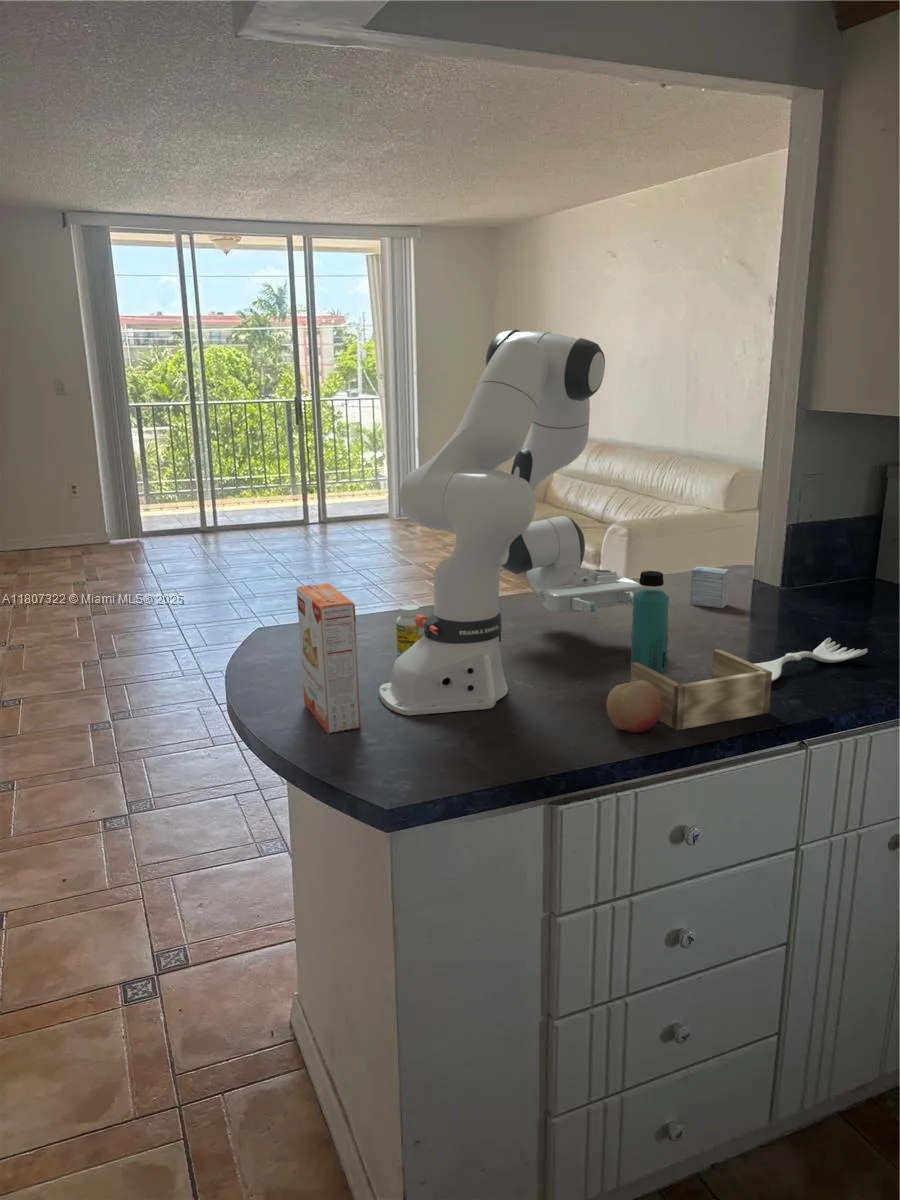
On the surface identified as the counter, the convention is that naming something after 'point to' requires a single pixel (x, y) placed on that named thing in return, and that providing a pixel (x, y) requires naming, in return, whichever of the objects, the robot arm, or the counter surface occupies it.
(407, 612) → the supplement bottle
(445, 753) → the counter surface
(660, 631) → the beverage bottle
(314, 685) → the cracker box
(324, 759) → the counter surface
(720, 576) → the medicine box
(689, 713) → the box
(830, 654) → the white long slender part
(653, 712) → the fruit
